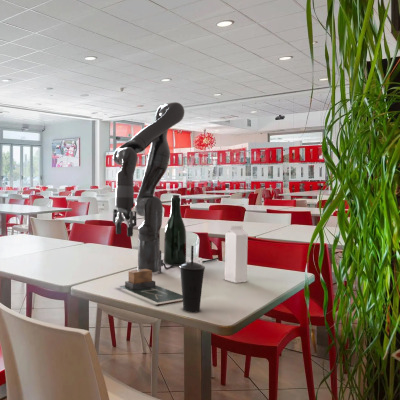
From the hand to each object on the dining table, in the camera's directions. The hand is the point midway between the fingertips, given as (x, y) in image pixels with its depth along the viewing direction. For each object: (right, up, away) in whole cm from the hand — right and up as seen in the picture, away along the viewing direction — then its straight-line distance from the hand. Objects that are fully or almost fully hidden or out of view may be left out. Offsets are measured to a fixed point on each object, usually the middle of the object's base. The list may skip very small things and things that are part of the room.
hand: (124, 235), depth 174 cm
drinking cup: (+16, -20, -44) cm, 51 cm away
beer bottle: (+27, -16, +28) cm, 42 cm away
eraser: (+4, -17, -20) cm, 27 cm away
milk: (+44, -18, -6) cm, 48 cm away
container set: (+30, -17, +5) cm, 35 cm away
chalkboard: (+7, -19, -27) cm, 33 cm away
